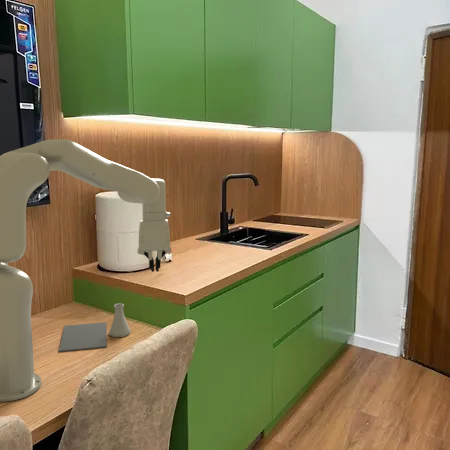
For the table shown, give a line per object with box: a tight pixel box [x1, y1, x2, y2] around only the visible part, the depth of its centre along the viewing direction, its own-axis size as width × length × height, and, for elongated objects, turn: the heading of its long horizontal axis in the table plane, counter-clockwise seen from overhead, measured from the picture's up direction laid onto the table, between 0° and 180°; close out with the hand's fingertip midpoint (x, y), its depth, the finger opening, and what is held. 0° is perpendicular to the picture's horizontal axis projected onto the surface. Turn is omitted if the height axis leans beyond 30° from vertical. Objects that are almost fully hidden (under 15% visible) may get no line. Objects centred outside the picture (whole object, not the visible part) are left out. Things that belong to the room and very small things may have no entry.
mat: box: [58, 321, 108, 353], centre depth 141 cm, size 14×20×1 cm
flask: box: [108, 303, 131, 338], centre depth 143 cm, size 7×7×10 cm
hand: (154, 270), depth 144 cm, fingers closed
